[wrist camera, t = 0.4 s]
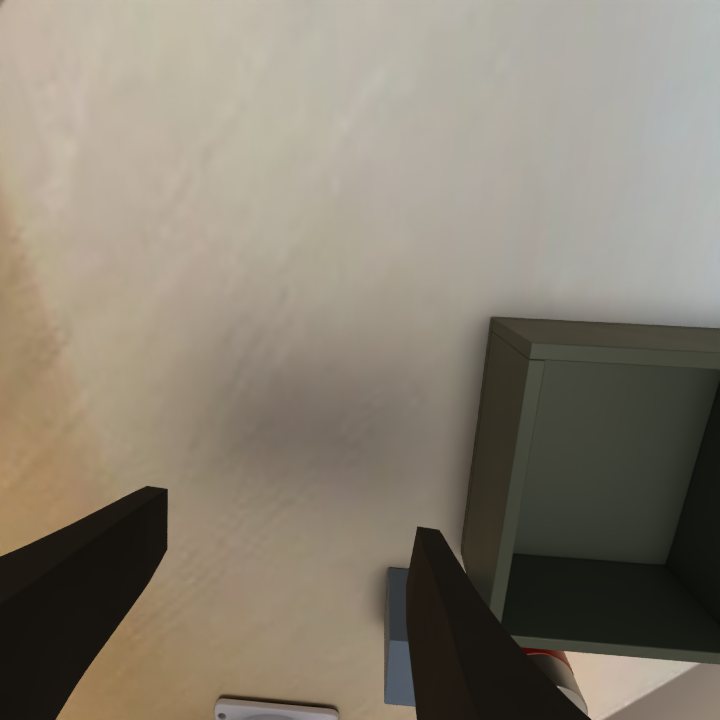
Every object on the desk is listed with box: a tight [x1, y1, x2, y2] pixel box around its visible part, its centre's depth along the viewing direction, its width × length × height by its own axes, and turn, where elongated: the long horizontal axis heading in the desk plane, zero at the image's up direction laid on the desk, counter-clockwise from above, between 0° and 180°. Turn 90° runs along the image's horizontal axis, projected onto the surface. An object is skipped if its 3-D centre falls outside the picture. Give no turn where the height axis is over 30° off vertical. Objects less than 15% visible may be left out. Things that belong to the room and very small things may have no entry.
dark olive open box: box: [461, 317, 720, 664], centre depth 18 cm, size 13×11×6 cm
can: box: [521, 647, 588, 716], centre depth 21 cm, size 4×4×5 cm
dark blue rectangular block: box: [384, 568, 416, 707], centre depth 21 cm, size 4×4×4 cm
